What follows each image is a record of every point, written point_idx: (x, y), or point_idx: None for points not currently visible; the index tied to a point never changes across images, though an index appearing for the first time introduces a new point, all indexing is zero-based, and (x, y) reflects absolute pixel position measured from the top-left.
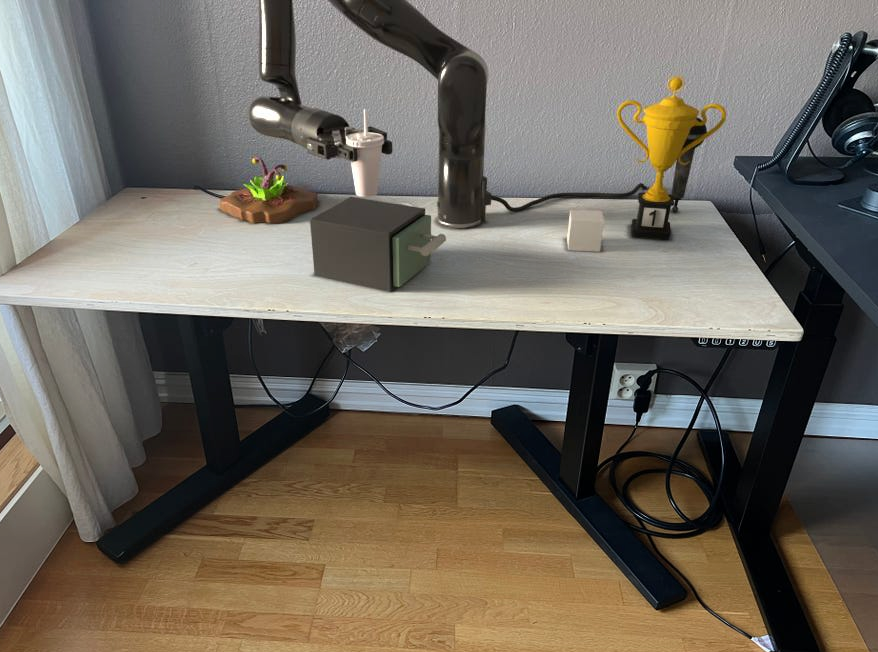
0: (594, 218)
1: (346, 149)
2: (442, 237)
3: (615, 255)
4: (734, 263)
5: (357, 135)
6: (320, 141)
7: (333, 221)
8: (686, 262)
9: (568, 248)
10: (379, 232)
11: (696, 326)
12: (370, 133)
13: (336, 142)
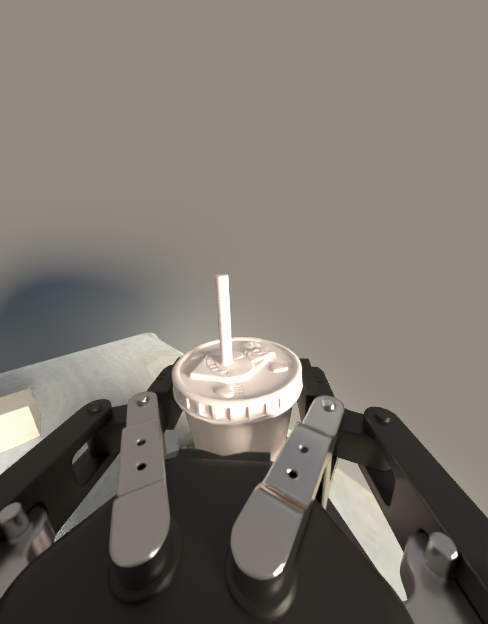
0: (17, 396)
1: (318, 378)
2: (187, 434)
3: (50, 404)
4: (55, 361)
5: (250, 372)
6: (417, 464)
7: None
8: (59, 373)
9: (39, 434)
10: (286, 437)
11: (168, 345)
12: (201, 365)
13: (334, 412)
